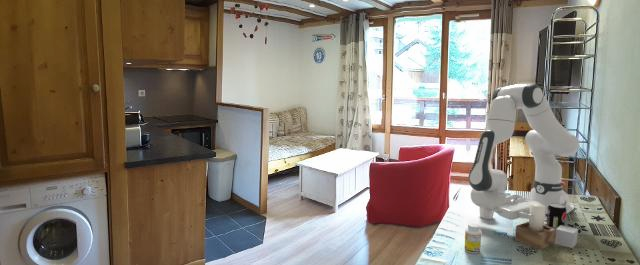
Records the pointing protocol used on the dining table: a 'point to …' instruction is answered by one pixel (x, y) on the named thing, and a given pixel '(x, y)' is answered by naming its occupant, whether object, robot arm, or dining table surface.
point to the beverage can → (556, 215)
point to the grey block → (566, 236)
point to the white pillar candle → (537, 217)
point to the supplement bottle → (473, 238)
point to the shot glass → (486, 213)
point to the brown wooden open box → (535, 236)
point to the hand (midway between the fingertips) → (539, 215)
